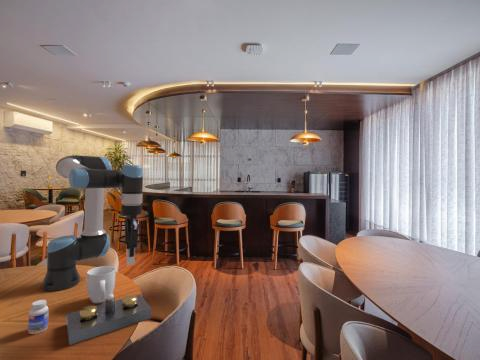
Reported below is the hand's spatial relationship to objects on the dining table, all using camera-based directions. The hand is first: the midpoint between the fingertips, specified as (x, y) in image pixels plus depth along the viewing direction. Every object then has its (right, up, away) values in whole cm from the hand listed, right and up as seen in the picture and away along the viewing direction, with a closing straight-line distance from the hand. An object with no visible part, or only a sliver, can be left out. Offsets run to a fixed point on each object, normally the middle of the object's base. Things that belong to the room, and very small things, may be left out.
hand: (130, 264), depth 97 cm
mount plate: (-6, -20, -4) cm, 21 cm away
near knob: (-11, -20, -9) cm, 25 cm away
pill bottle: (-28, -20, -10) cm, 36 cm away
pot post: (-6, -16, -4) cm, 18 cm away
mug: (-18, -20, +11) cm, 29 cm away
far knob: (0, -20, 0) cm, 20 cm away
